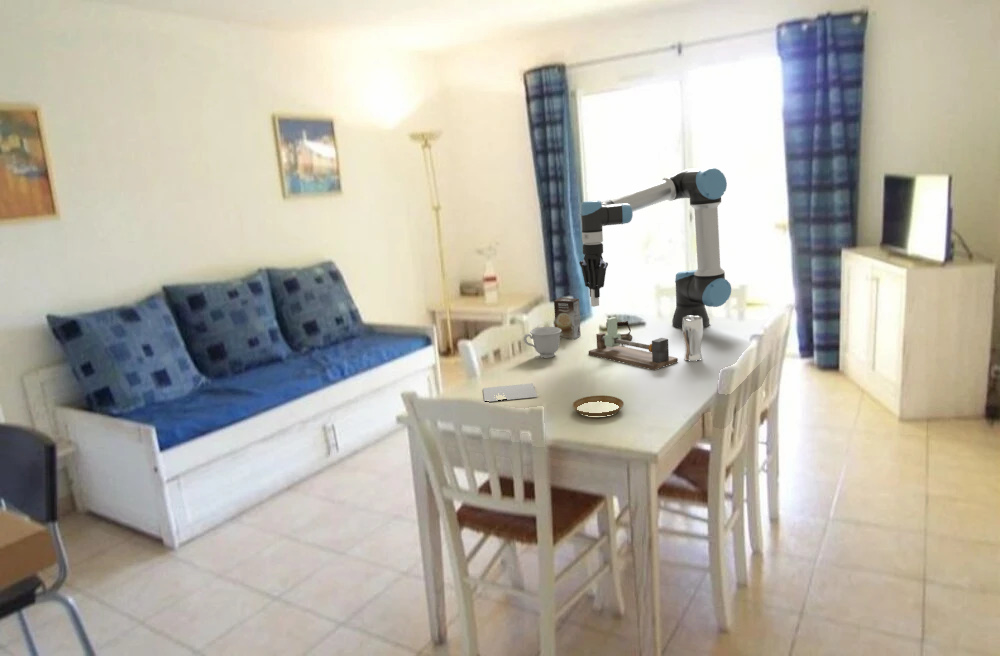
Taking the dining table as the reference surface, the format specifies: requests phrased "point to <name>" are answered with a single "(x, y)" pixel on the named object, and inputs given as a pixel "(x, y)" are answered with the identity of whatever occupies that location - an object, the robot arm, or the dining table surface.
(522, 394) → the paper stack
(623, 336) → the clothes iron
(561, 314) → the coffee box
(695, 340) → the beer glass
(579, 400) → the plant saucer
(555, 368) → the dining table surface
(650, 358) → the rack
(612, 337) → the sleeve
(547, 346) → the teacup
